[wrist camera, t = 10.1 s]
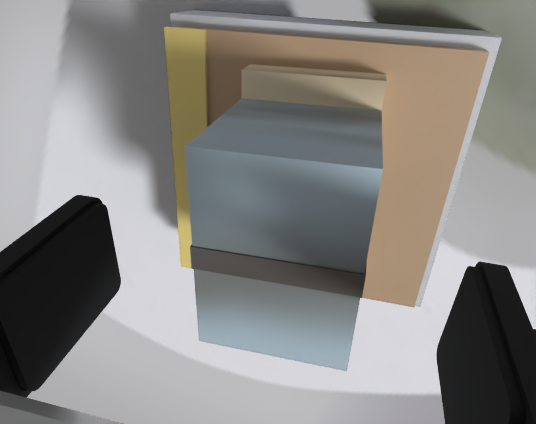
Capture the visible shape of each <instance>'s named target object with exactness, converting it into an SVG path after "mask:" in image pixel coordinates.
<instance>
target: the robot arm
mask: <svg viewBox="0 0 536 424" xmlns="http://www.w3.org/2000/svg"><path fill="white" fill-rule="evenodd" d="M120 284H121V278H120V273H119V268H118V262H117V257H116V252H115V247H114V241H113V236H112V231H111V226H110V220H109V215H108V210H107V207H106V206H105V205H104V204H102V201H101V200H100V199H98V198H95V197H89V196H83V195H77V196H75V197H73V198H72V199H70V200H69V201H68V202H66V203H65V204H64V205H62V206H61V207H60V208H58V209H57V210H56V211H54V212H53V213H52V214H50V215H49V216H48V217H46V218H45V219H44V220H42V221H41V222H40V223H38V224H37V225H36V226H34V227H33V228H32V229H30V230H29V231H28V232H26V233H25V234H24V235H22V236H21V237H20V238H19V239H17V240H16V241H14V242H13V243H12V244H10V245H9V246H8V247H7V248H5V249H4V250H2V251H1V252H0V424H123V423H119V422H115V421H111V420H108V419H104V418H101V417H96V416H93V415H89V414H86V413H82V412H78V411H74V410H70V409H67V408H63V407H59V406H56V405H52V404H48V403H44V402H40V401H37V400H33V399H29V398H27V396H28V395H29V394H30V393H31V392H32V391H35V390H37V389H39V388H40V387H41V385H42V384H43V383H44V382H45V381H46V379H47V378H48V377H49V376H50V374H51V373H52V372H53V371H54V370H55V368H56V367H57V366H58V365H59V363H60V362H61V361H62V360H63V358H64V357H65V356H66V355H67V353H68V352H69V351H70V350H71V349H72V347H73V346H74V345H75V344H76V342H77V341H78V340H79V339H80V338H81V336H82V335H83V334H84V333H85V331H86V330H87V329H88V328H89V327H90V325H91V324H92V323H93V322H94V320H95V319H96V318H97V317H98V315H99V314H100V313H101V312H102V311H103V309H104V308H105V307H106V306H107V304H108V303H109V302H110V301H111V299H112V298H113V297H114V296H115V295H116V293H117V292H118V290H119V288H120ZM437 365H438V372H439V380H440V387H441V395H442V402H443V410H444V418H445V424H536V330H535V329H533V328H532V326H531V323H530V321H529V319H528V316H527V314H526V311H525V309H524V306H523V304H522V301H521V299H520V296H519V294H518V291H517V289H516V287H515V284H514V282H513V279H512V277H511V274H510V272H509V269H508V268H507V267H506V266H503V265H497V264H491V263H485V262H478V263H477V264H476V266H475V267H471V266H469V267H468V268H467V269H466V271H465V274H464V277H463V279H462V282H461V285H460V287H459V290H458V293H457V295H456V298H455V301H454V303H453V306H452V309H451V312H450V314H449V317H448V320H447V322H446V325H445V328H444V330H443V333H442V336H441V338H440V341H439V344H438V348H437Z"/></svg>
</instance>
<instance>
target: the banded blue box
mask: <svg viewBox="0 0 536 424" xmlns="http://www.w3.org/2000/svg"><path fill="white" fill-rule="evenodd" d="M386 82H387V78H386V74H379V73H365V72H351V71H338V70H324V69H310V68H297V67H283V66H269V65H256V64H250V65H248V66H247V67H245V68H244V69H242V98H241V99H240V100H239V101H238V102H237V103H235V104H234V105H233V106H232V107H231V108H230V109H228V110H227V111H226V112H225V113H224V114H223V115H221V116H220V117H219V118H218V119H217V120H215V121H214V122H213V123H212V124H211V125H210V126H208V127H207V128H206V129H205V130H204V131H202V132H201V133H200V134H199V135H198V136H197V137H195V138H194V139H193V140H192V141H191V142H190V143H188V144H187V145H186V146H185V156H186V169H187V183H188V197H189V210H190V224H191V237H192V244H191V246H190V254H191V267H192V269H194V278H195V291H196V305H197V319H198V332H199V341H202V342H207V343H212V344H217V345H222V346H227V347H232V348H236V349H241V350H246V351H251V352H256V353H261V354H266V355H270V356H275V357H280V358H285V359H290V360H295V361H300V362H304V363H309V364H314V365H319V366H324V367H329V368H334V369H338V370H343V371H347V367H348V362H349V356H350V350H351V345H352V339H353V334H354V328H355V323H356V317H357V312H358V306H359V300H360V298H362V295H363V289H364V284H365V278H366V266H367V256H368V250H369V245H370V239H371V234H372V228H373V223H374V217H375V211H376V206H377V200H378V195H379V189H380V184H381V178H382V172H383V144H382V106H383V100H384V94H385V88H386Z"/></svg>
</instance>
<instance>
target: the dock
mask: <svg viewBox="0 0 536 424" xmlns="http://www.w3.org/2000/svg"><path fill="white" fill-rule="evenodd" d="M170 24H171V27H170V26H165V27H164V36H165V50H166V64H167V78H168V92H169V106H170V120H171V134H172V148H173V162H174V176H175V190H176V204H177V219H178V233H179V247H180V261H181V266H182V267H187V268H192V267H191V254H190V246H191V244H192V237H191V224H190V210H189V197H188V183H187V169H186V156H185V146H186V145H187V144H188V143H190V142H191V141H192V140H193V139H194V138H195V137H197V136H198V135H199V134H200V133H201V132H202V131H204V130H205V129H206V128H207V127H208V126H210V125H211V124H212V123H213V122H214V121H215V120H217V119H218V118H219V117H220V116H221V115H223V114H224V113H225V112H226V111H227V110H228V109H230V108H231V107H232V106H233V105H234V104H235V103H237V102H238V101H239V100H240V99H241V98H242V69H244V68H245V67H247V66H248V65H250V64H256V65H269V66H283V67H297V68H310V69H324V70H338V71H351V72H365V73H379V74H386V78H387V82H386V88H385V94H384V100H383V106H382V144H383V172H382V178H381V184H380V189H379V195H378V200H377V206H376V211H375V217H374V223H373V228H372V234H371V239H370V245H369V250H368V256H367V266H366V278H365V284H364V289H363V295H362V298H367V299H372V300H378V301H383V302H388V303H394V304H399V305H404V306H410V307H415V306H418V307H420V306H421V302H422V299H423V296H424V293H425V289H426V286H427V283H428V279H429V276H430V273H431V270H432V266H433V263H434V260H435V256H436V253H437V250H438V246H439V243H440V240H441V237H442V233H443V230H444V227H445V223H446V220H447V217H448V213H449V210H450V207H451V204H452V200H453V197H454V194H455V191H456V187H457V184H458V180H459V177H460V174H461V171H462V167H463V164H464V161H465V158H466V154H467V151H468V148H469V144H470V141H471V138H472V135H473V131H474V128H475V125H476V121H477V118H478V115H479V112H480V108H481V105H482V102H483V98H484V95H485V92H486V89H487V85H488V82H489V79H490V75H491V72H492V69H493V65H494V62H495V59H496V56H497V52H498V49H499V46H500V42H501V39H502V38H501V37H499V36H497V35H494V34H492V33H490V32H488V31H483V30H469V29H455V28H441V27H427V26H413V25H399V24H385V23H371V22H357V21H342V20H329V19H315V18H301V17H287V16H273V15H259V14H245V13H231V12H217V11H203V10H189V11H182V12H175V13H170Z"/></svg>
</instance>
